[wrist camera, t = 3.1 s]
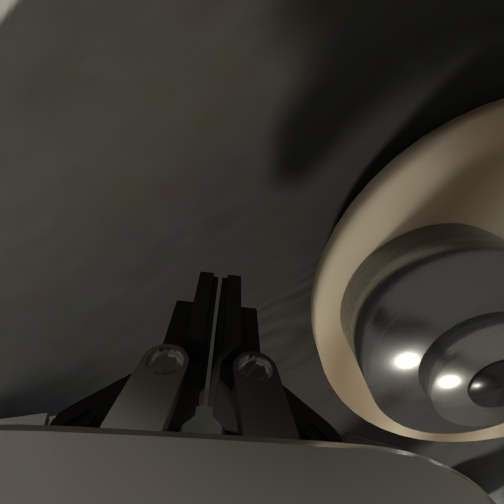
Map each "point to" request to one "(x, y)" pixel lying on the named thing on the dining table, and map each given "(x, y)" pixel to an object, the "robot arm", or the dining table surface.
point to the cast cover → (432, 328)
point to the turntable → (402, 221)
